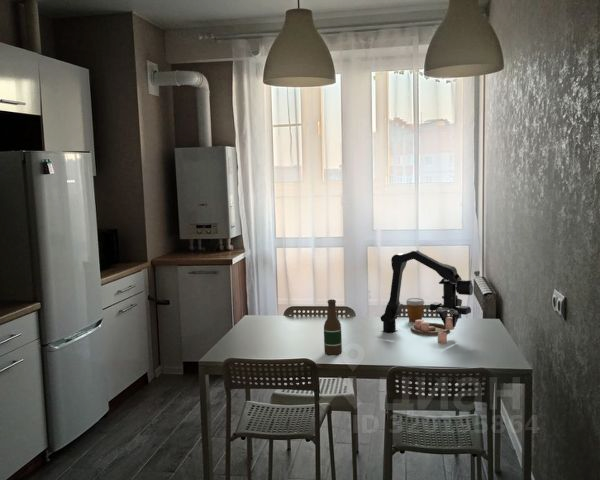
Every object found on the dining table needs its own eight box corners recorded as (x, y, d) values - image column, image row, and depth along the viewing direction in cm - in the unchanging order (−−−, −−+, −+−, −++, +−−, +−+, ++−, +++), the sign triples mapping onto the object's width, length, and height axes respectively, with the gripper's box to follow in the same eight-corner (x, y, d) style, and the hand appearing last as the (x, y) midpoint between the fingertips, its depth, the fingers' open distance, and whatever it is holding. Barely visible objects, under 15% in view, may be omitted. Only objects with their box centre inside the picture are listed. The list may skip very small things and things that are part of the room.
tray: (438, 338, 285) (438, 334, 284) (404, 333, 297) (404, 328, 296) (456, 330, 298) (456, 326, 298) (423, 325, 310) (423, 321, 310)
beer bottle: (331, 349, 272) (329, 297, 270) (345, 352, 267) (344, 299, 265) (320, 354, 266) (319, 300, 264) (335, 357, 261) (333, 302, 259)
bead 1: (444, 345, 273) (444, 334, 272) (436, 344, 276) (436, 333, 275) (448, 343, 276) (448, 332, 275) (440, 342, 279) (440, 331, 278)
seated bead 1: (421, 332, 295) (420, 321, 295) (413, 330, 298) (413, 320, 297) (425, 330, 298) (425, 320, 298) (418, 329, 301) (417, 319, 300)
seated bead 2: (426, 334, 291) (426, 324, 290) (419, 333, 293) (419, 322, 293) (430, 332, 294) (430, 322, 293) (423, 331, 296) (423, 321, 296)
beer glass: (402, 321, 320) (402, 299, 319) (417, 319, 324) (417, 297, 323) (413, 325, 311) (412, 302, 310) (428, 322, 315) (428, 300, 314)
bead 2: (451, 330, 280) (451, 319, 279) (444, 329, 282) (443, 318, 282) (455, 328, 283) (455, 317, 282) (448, 327, 285) (447, 316, 285)
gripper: (476, 292, 281) (476, 325, 282) (439, 288, 293) (440, 320, 295) (465, 296, 272) (465, 330, 274) (428, 292, 285) (428, 325, 286)
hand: (449, 326), depth 282 cm, fingers closed on bead 2, 4 cm apart
